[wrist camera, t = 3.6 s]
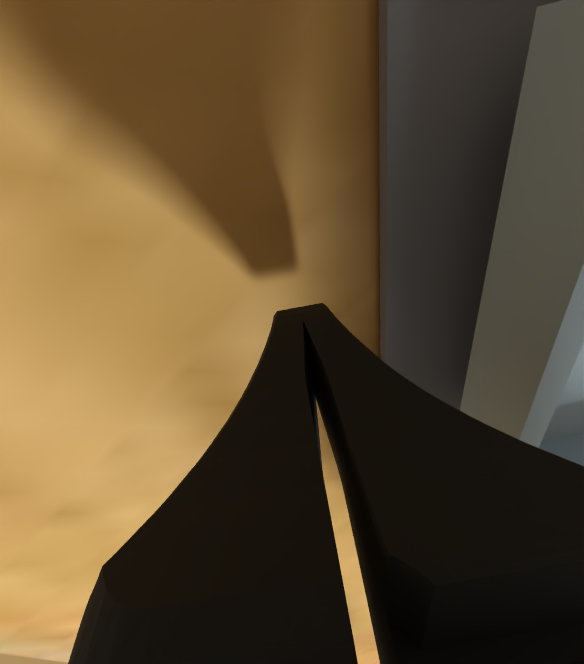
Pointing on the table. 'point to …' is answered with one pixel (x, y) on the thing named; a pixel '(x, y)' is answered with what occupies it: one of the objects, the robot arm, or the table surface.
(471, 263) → the track
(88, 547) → the table surface
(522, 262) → the light blue storage bin
